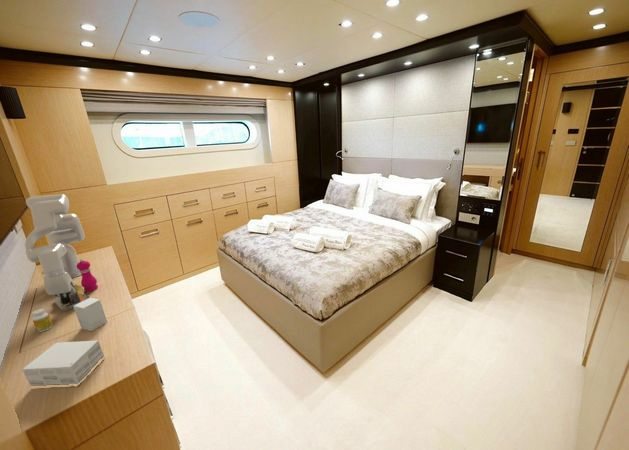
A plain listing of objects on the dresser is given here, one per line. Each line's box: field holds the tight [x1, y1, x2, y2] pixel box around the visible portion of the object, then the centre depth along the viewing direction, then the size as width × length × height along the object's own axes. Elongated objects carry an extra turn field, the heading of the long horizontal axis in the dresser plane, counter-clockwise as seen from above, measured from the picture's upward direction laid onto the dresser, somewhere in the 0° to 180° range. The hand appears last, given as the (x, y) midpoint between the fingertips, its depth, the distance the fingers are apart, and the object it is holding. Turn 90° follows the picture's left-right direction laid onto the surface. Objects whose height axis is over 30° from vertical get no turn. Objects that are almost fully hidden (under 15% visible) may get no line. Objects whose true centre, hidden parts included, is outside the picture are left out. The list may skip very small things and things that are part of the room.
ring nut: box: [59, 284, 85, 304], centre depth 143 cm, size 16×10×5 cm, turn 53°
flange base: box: [53, 292, 91, 313], centre depth 144 cm, size 16×12×6 cm
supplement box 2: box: [73, 297, 108, 332], centre depth 123 cm, size 7×7×13 cm
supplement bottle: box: [31, 308, 53, 333], centre depth 123 cm, size 5×5×10 cm
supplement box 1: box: [21, 339, 105, 387], centre depth 98 cm, size 17×13×9 cm
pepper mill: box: [77, 258, 99, 293], centre depth 155 cm, size 7×7×20 cm
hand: (66, 302), depth 139 cm, fingers closed
